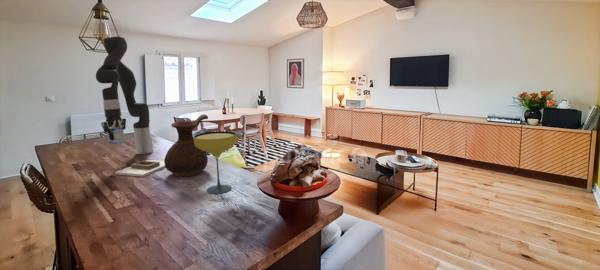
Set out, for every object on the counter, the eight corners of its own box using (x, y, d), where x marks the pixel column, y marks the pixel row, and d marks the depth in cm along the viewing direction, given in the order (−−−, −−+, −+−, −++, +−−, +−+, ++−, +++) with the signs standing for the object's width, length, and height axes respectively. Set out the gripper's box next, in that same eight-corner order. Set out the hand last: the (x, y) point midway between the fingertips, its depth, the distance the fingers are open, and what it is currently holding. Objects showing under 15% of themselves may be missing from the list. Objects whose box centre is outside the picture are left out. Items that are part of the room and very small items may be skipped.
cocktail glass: (222, 180, 158) (219, 129, 153) (247, 188, 146) (244, 133, 141) (190, 191, 144) (184, 136, 139) (214, 200, 133) (210, 141, 128)
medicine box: (108, 143, 176) (106, 127, 174) (116, 141, 180) (114, 126, 178) (117, 144, 172) (115, 128, 170) (125, 143, 176) (123, 127, 174)
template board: (148, 161, 193) (147, 156, 192) (173, 163, 188) (173, 158, 187) (115, 174, 170) (114, 168, 170) (143, 176, 165) (142, 170, 165)
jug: (196, 180, 158) (191, 120, 152) (157, 178, 162) (150, 119, 156) (216, 167, 179) (212, 113, 173) (181, 166, 183) (176, 113, 177)
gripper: (117, 106, 180) (121, 136, 183) (94, 109, 166) (99, 141, 170) (128, 106, 177) (132, 136, 181) (105, 109, 164) (110, 142, 167)
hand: (116, 138), depth 175 cm, fingers closed on medicine box, 5 cm apart
